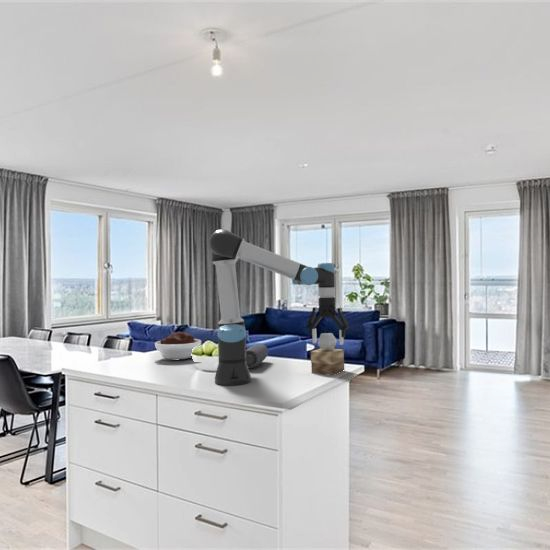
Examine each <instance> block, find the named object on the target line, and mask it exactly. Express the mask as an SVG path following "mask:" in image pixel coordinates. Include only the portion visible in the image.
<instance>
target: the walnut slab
mask: <svg viewBox="0 0 550 550" xmlns="http://www.w3.org/2000/svg"><path fill="white" fill-rule="evenodd" d="M310 363H311V362H310ZM343 370H344V371H345V360H344V361H341V362H339V363H336V364H333V365H332V364H321V363H311V374H316V373H319V375H326V374H329V375H330V376H335V374H336V375H338V374H340V373H342V372H341V371H343ZM344 371H343V372H344ZM339 372H340V373H339ZM337 373H338V374H337ZM329 375H328V376H329Z"/></svg>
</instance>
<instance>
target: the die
mask: <svg viewBox="0 0 550 550" xmlns="http://www.w3.org/2000/svg"><path fill="white" fill-rule="evenodd" d="M337 340H338V339H337V338H336V336H334V333H332V332H328V333H327V332H324V333H320V335H319V339H318V341H317V345H318V346H319V349H321V350H322V351H334V349H336V348H335V347H336V345H337V342H338V341H337Z"/></svg>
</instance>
